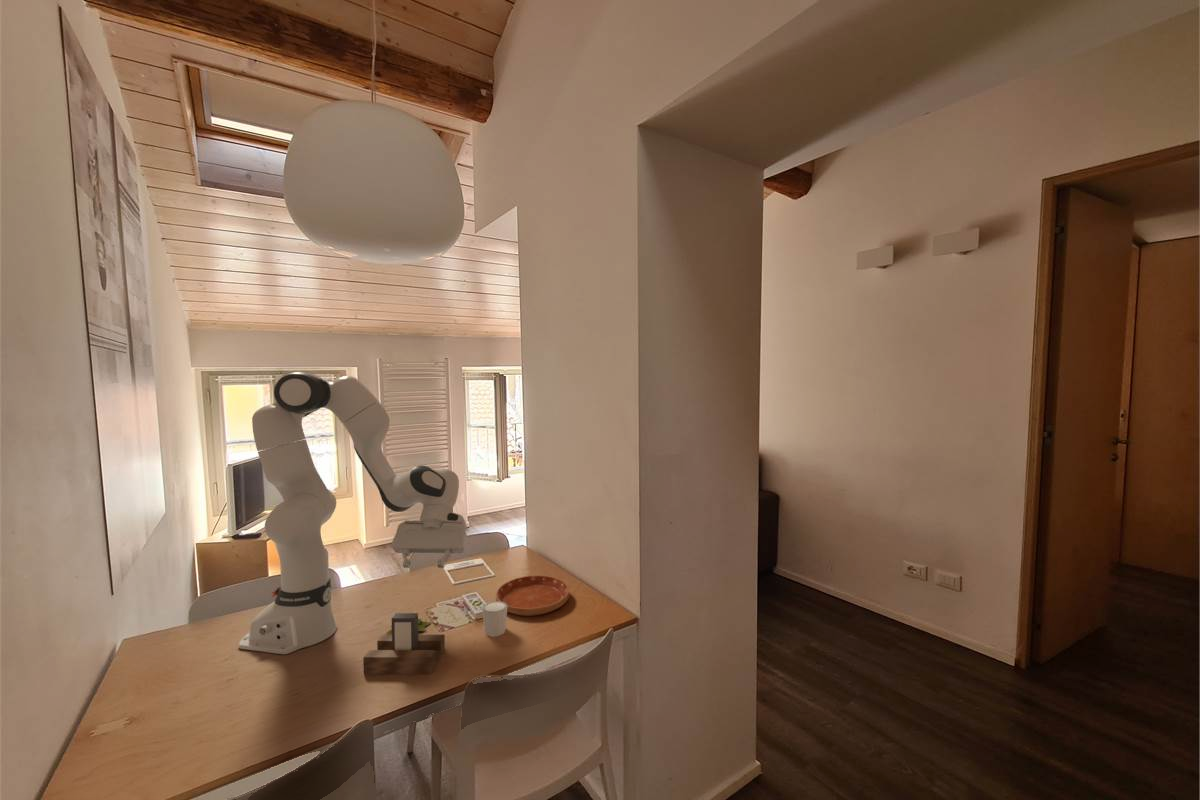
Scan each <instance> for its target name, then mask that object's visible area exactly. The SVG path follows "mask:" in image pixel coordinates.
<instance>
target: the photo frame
mask: <svg viewBox="0 0 1200 800" xmlns="http://www.w3.org/2000/svg"><path fill="white" fill-rule="evenodd" d="M481 565H483V566H484V567H485V568H486V570H487V571H488V572H489V573H490V574H489V575H484V576H479V577H475V578H469V579H464V580H459V581H456V582H455V581H454V579H453V578H452V576H451V575H450V573H449V572H450V571H456V570H462V569H467V568H473V567H477V566H481ZM442 569H443V571H444V573H445V575H446V576H447V577H448V579H449V581H450V582H451V584H452V586H455V585H460V584H466V583H469V582H474V581H478V580H484V579H488V578H493V577H496V575H495V573H494V571H493V570H491V568H490V567H489V566H488V564H487V563H486V562H485V561H484V560H483V558H481V557H479V558H475V559H470V560H469V559H468V560H464V561H459V562H454V563H452V562H451V563H448V564H445V566H444V568H442Z"/></svg>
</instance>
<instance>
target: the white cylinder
mask: <svg viewBox="0 0 1200 800" xmlns="http://www.w3.org/2000/svg"><path fill="white" fill-rule="evenodd" d="M481 610H482V611H481V612H482V619H483V621H482V622H483V628H484V629H483V631H484V635H485V636H488V637H492V638H495V637H500V636H501V635H504V633H505V632H506V626H507V618H508V617H507V615H508V614H507V613H508V612H507V604H506V603H504V602H501V601H496V600H495V601H490V602H486V603H485V604H484V605H483V606H482V607H481Z"/></svg>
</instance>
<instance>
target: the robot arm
mask: <svg viewBox="0 0 1200 800" xmlns="http://www.w3.org/2000/svg"><path fill="white" fill-rule="evenodd" d="M273 397H274V400H275V402H274V403H272V404H268V405H264V406H262V407H260V408H259V409H257V410H256V411H255V412H254V413H253V415H252V418H251V419H252V420H251V423H252V425H251V426H252V433H253V439H254V444H255V447H256V450H257V454H258V458H259V460H260V463H261V466H262V470H263V473H264V476H265V478H266V480H267V481H268V482H269V484H272V485H273V486H274V487H275V489H276V490H277V491H278V492H279V494H280V496H281V497H282V500H283V501H282V502H280V503H279V504H277V505H276V506H275V507H274V508H273V509H272V510H271V511H270V513H269V515H267V517H266V519H265V520H264V521H265V522H264V531H265V533H266V535H267V537H268V538H269V539H270V540H271V541H272V542H274V544H275V548H276V550H277V554H278V558H279V563H280V567H279V568H280V586H278V587H277V588H276V590H274V591H273V592H271V593H270V598H274V597H275V598H274V601H272V602H271V603H270V604H269V605H268V606H266V607H265V608H264V609H262V610H261V611H260V612H259V613H258V614H256V616H255V617H254V618H253V620H252V621H251V624H250V628H249V632H247V633H246V634H245V635H244V636H243V637H242V638H241V639H240V640H239V642H238V649H240V650H249V651H256V652H263V653H271V654H279V655H287V654H290V653H292V652H295V651H297V650H300V649H303V648H307V647H310V646H313V645H316V644H318V643H321V642H323V641H325V640H326V639H328V638H330V637H331V636H333V634H335V632H336V631H337V629H338V625H337V623H336V621H335V618H334V615H333V614H334V613H333V610H332V604H331V603H332V602H331V600H332V581H331V578H330V572H329V570H330V569H329V567H330V566H329V565H330V564H329V562H330V561H329V551H328V549H327V548H325V546H324V542H323V539H322V535H321V531H322V526H323V525H324V524H325V523H327V522H328V521H329V520H330V519H331V518H332V516H333V514H334V512H335V510H336V508H337V498H336V496H335V494H334V493H333V492H332V491H331V489H328V488H327V486H326V484H325V483H324V481H323V479H322V477H321V475H320V473H319V471H318V470H317V468H316V466H315V463H314V461H313V458H312V454H311V451H310V448H309V445H308V442H307V439H306V436H305V435H306V434H305V431H304V429H303V419H304V418H305V417H307V416H309V415H311V414H312V413H314V412H316V411H318V410H320V409H327V410H329V411H330V412H332V413H333V415H335V416H336V417H337V418H338V420H339V421H340V422H341V424H342V426H344V428H345V430H347V433H348V434H349V435H350V437H351V440H352V443H353V449H354V450H355V451H354V452H355V454H356V455H357V458H358V459H359V460H360V463H361V464H362V465H363V466H364V468H365V470H366V471H367V473H368V474H369V476H370V478H371V479H372V481H373V483H374V484H375V486H376V488H377V490H378V492H379V496H380V498H381V500H382V502H383V504H384V505H385V506H386V507H387V509H390V510H391V511H393V512H398V513H402V512H405V511H407V510H410V508H411V507H413V506H414V505H416V504H418V503H421V504H422V506H423V507H422V511H421V513H420V517H419V520H404V521H403V522H401V523H399V524H398V526H397V529H396V531H395V532H396V533H395V534H394V537H393V539H392V541H391V544H390V545H391V549H392V550H393V552H394V553H397V554H401V555H402V558H403V561H402V567H403V568H407V569H409V568H410V567H411V564H412V561H411V559H410V558H409V559H408V557H410V554H444V556H443V557H442V559H438V561H437V568H439V569H443V568H444V566H445V565H446V563H447V562H448V560H449V559H450V558H451V557H452V554H463V553H464V552H465V551H466V549H467V543H468V534H467V523H466V520H465V518H464V517H463V515H461V514H459V513H456V512H454V506H455V504H456V503H457V499H458V495H459V489H460V480H459V477H458V475H457V473H456V472H454V471H453V470H451V469H448V468H440V469H435V468H431V467H430V466H427V465H417V466H414V467H413V468H411V469H409V470H407V471H406V472H404V473H403V474H400V475H398V474H397V473H395V471H394V470H393V467H392V466H391V465H390V462H389V461H388V459H387V458H386V456H385V455H384V452H383V449H382V448H383V447H382V445H383V442H384V439H385V437H386V435H387V433H388V431H389V428H390V417H389V414H388V413H387V410H386V408H385V407H384V406H383V405H382V403H380V401H379V400H378V398H377V397H376V396H375V394H373V393H372V391H370V390H369V388H368V387H367V386H365V384H363V383H362V382H361V381H360V380H359V379H358V378H356V377H354V376H351V375H345V376H339V377H337V378H336V379H333V380H331V381H326V380H324V379H323V378H322V377H321V376H318V375H316V374H314V373H312V372H306V371H294V372H290V373H287V374H285V375H283V376H281V377H280V378H279V379H278V381H277V382H276V383H275V385H274V388H273Z"/></svg>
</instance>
